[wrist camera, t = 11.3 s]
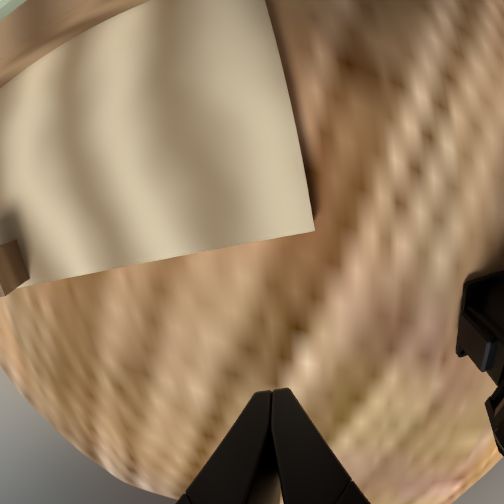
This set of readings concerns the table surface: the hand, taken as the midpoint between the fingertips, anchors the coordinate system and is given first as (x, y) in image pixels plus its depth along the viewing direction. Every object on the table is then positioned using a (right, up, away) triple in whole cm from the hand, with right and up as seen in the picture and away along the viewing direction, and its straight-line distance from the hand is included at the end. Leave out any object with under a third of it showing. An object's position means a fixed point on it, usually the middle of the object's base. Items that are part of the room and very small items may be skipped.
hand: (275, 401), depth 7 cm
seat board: (-11, +13, +9) cm, 19 cm away
